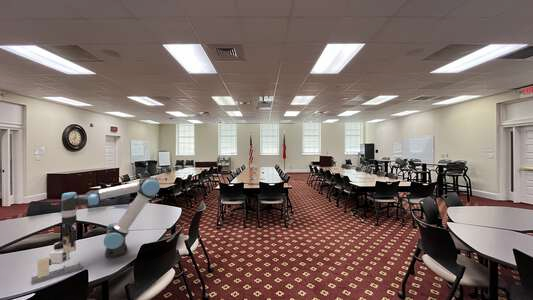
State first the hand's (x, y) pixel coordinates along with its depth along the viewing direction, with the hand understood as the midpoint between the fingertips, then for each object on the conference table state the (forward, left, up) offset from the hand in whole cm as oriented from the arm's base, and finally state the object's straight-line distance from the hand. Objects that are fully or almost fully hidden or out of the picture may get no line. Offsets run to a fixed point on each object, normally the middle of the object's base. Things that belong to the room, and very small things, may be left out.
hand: (69, 250), depth 154 cm
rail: (+6, +3, -13) cm, 14 cm away
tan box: (0, 0, 0) cm, 0 cm away
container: (+3, -20, -13) cm, 24 cm away
